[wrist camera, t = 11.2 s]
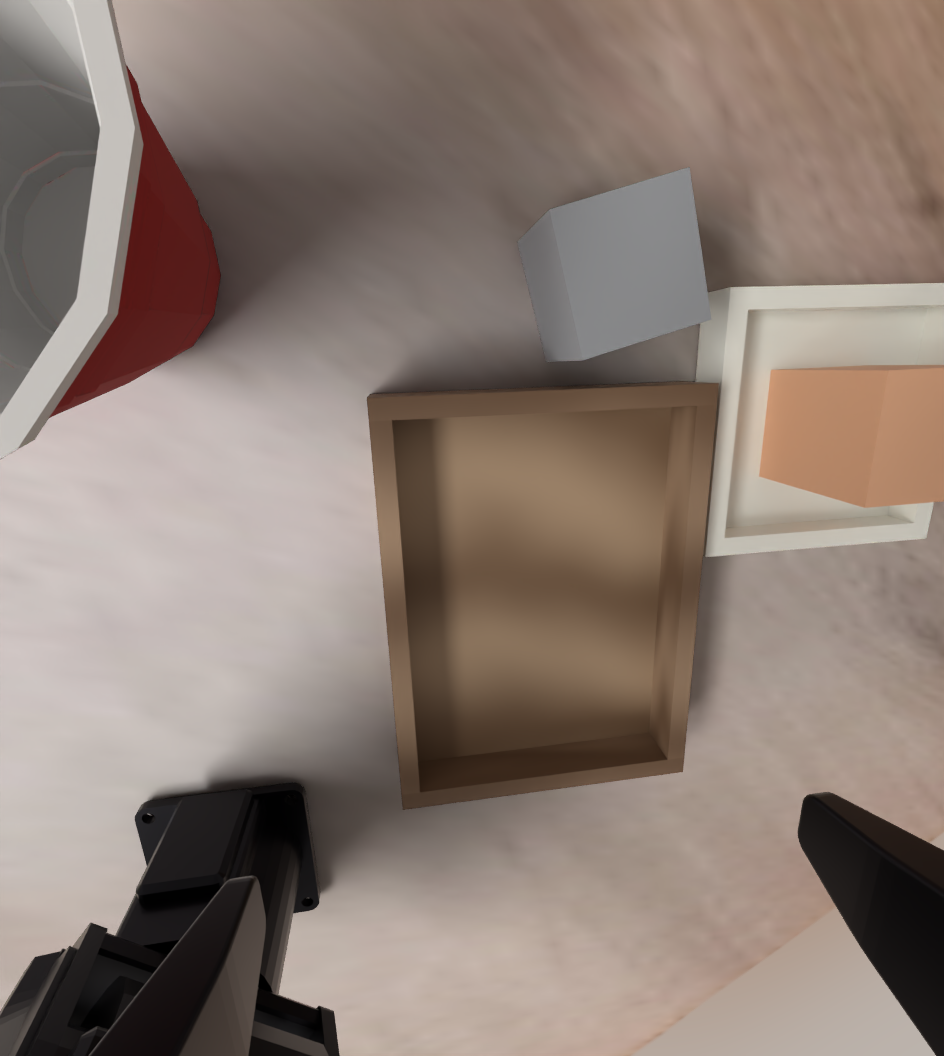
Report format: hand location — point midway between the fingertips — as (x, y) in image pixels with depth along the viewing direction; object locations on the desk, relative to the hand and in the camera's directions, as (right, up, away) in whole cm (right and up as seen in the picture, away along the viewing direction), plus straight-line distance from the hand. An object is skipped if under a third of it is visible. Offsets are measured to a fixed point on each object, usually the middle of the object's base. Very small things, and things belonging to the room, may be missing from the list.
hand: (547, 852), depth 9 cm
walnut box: (+1, +3, +13) cm, 13 cm away
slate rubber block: (+3, +14, +10) cm, 17 cm away
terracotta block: (+12, +9, +12) cm, 19 cm away
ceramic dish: (+12, +9, +13) cm, 20 cm away
